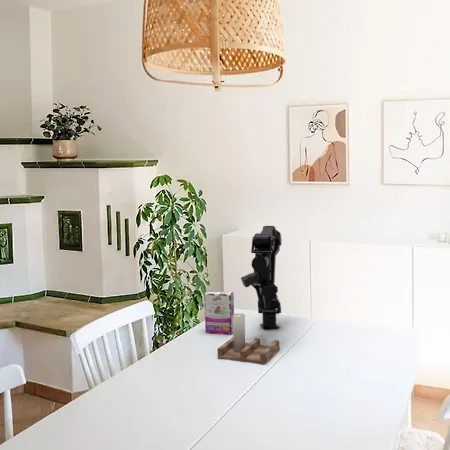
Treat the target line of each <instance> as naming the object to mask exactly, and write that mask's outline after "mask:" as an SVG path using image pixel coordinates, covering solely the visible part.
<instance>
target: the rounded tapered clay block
mask: <svg viewBox="0 0 450 450" xmlns="http://www.w3.org/2000/svg"><path fill="white" fill-rule="evenodd" d="M232 337H233V350H234V351H235V352H240V351H241V350H242V349H244V348H245V343H246V315H245V313H234V314H233V333H232Z"/></svg>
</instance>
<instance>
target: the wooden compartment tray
mask: <svg viewBox="0 0 450 450" xmlns="http://www.w3.org/2000/svg"><path fill="white" fill-rule="evenodd" d="M280 347H281V346H280V340H279V339H275V340H273V341H272V342H271V343H270V344H269V345H266V344H265V345H264V344H261V337H255V338H254V339H253V340H251V342H250V343H249V342H245V348H244V349H242V350H241V351H240V352H235V351H234V350H233V336H231V338H230V339H228V340H227V341H226V342H225V343H223V344H222V345H220V346H219V347H218V348H217V359H220V358H222V359H221V360H227V359H230V360H229V361H235V360H236V361H237V362H245V363H252V364H259V365H260V364H261V365H266V364H267V363H268V362H269V361H270V360H271V359H272V358H273V357H274V356H275V355H276V354H277V353H278V352H279V351H280V350H281V349H280Z"/></svg>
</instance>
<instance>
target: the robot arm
mask: <svg viewBox="0 0 450 450" xmlns="http://www.w3.org/2000/svg"><path fill="white" fill-rule="evenodd" d="M282 242H283V241H282V234H281V232H280V231H278V230H277V229H276V226H275V225H263V226H262V230H261V232H259V233H255V234H254V235H253V236H252V239H251V251H250V253H251V254H254V257H253V258H252V260H251V268H252V269H253V272H250V273H248V274H246V275H244V276H241V278H240V280H241V282H242V284H243V287H245V288H250V287H253V288H254V289H255V292H256V295H257V310H258V311H257V313H258V314H261V317H262V323H260V325H259V326H260V327H261V328H262V329H263V330H273V329H275V330H276V329H279V328H280V326H279V325H278V324H277V315H280V314H282V306H281V302H280V300H279V299H278V298H279V297H278V295H277V293H278V292H279V288H278V286H277V285H276V283H275V280H276V261H277V260H276V258H277V257H276V256H277V255H278V253H279V252H280V251H281V250H280V249H281V246H282Z"/></svg>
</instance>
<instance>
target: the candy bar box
mask: <svg viewBox="0 0 450 450" xmlns="http://www.w3.org/2000/svg"><path fill="white" fill-rule="evenodd" d="M234 297H235V295H234V291H218V290H217V291H215V290H211V291H209V290H207V291H206V292H205V293H204V298H203V299H204V317H205V318H204V319H205V321H204V322H205V323H204V324H205V326H204V327H205V333H206V332H210V333H209V334H217V333H225V334H224V335H233V314H235V301H234V300H235V299H234Z"/></svg>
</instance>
